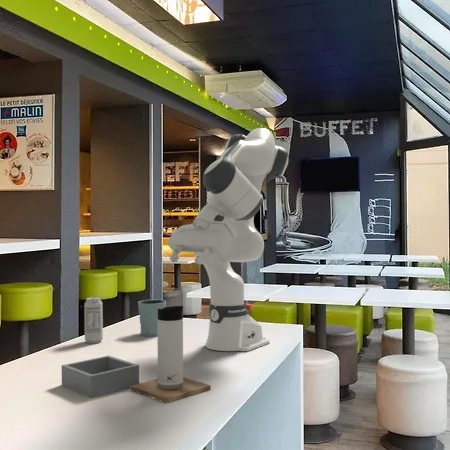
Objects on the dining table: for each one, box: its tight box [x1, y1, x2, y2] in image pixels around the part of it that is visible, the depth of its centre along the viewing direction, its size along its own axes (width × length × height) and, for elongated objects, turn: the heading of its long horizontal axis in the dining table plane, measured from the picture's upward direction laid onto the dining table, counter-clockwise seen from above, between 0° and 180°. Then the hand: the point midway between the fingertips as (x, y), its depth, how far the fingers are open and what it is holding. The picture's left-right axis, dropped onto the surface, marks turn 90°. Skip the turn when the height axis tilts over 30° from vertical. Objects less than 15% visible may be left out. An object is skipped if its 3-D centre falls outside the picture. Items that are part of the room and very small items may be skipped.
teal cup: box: [137, 299, 167, 337], centre depth 202 cm, size 10×10×12 cm
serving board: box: [130, 376, 212, 404], centre depth 136 cm, size 14×14×1 cm
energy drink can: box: [84, 296, 104, 344], centre depth 189 cm, size 6×6×15 cm
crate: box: [61, 355, 140, 398], centre depth 141 cm, size 14×14×5 cm
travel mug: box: [157, 305, 184, 390], centre depth 136 cm, size 6×7×20 cm
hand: (184, 261), depth 148 cm, fingers open, 8 cm apart
